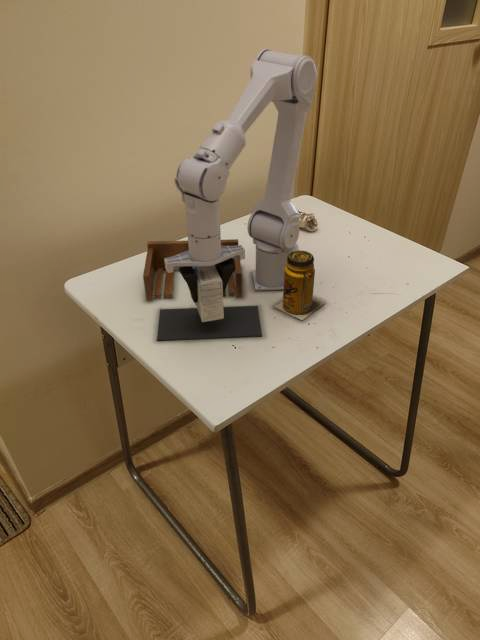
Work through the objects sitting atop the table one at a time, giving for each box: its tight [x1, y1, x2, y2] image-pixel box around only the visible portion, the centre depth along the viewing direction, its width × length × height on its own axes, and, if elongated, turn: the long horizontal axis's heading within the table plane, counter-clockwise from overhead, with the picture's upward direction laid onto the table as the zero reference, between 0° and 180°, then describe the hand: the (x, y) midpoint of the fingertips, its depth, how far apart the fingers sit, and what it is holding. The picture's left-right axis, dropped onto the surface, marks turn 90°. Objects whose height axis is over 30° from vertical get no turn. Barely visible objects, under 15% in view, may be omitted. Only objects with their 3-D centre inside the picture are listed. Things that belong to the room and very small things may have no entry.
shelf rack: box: [142, 238, 243, 302], centre depth 108 cm, size 20×13×7 cm, turn 96°
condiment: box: [274, 249, 327, 321], centre depth 101 cm, size 7×8×12 cm
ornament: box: [297, 209, 319, 232], centre depth 132 cm, size 8×7×4 cm
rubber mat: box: [156, 305, 263, 342], centre depth 99 cm, size 20×10×1 cm, turn 96°
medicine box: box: [193, 265, 224, 322], centre depth 94 cm, size 8×4×9 cm, turn 18°
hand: (208, 297), depth 95 cm, fingers closed on medicine box, 4 cm apart
